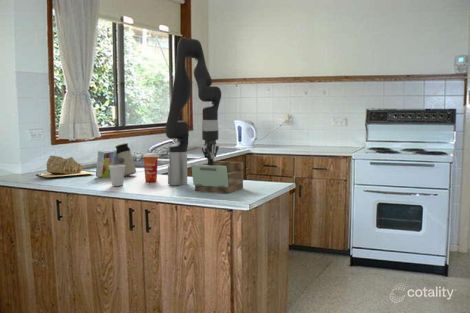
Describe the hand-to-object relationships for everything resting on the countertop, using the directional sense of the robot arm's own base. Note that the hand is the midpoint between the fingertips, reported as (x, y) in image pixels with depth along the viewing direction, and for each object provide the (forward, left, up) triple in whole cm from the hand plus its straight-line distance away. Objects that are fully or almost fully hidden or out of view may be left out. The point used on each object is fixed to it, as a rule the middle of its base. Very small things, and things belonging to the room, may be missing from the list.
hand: (210, 166), depth 234 cm
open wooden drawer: (0, +9, -12) cm, 15 cm away
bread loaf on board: (-105, +18, -17) cm, 108 cm away
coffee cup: (-47, +20, -12) cm, 52 cm away
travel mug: (-68, +29, -11) cm, 75 cm away
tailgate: (0, 0, -9) cm, 9 cm away
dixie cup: (-55, +1, -12) cm, 56 cm away
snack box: (-80, +27, -12) cm, 86 cm away
